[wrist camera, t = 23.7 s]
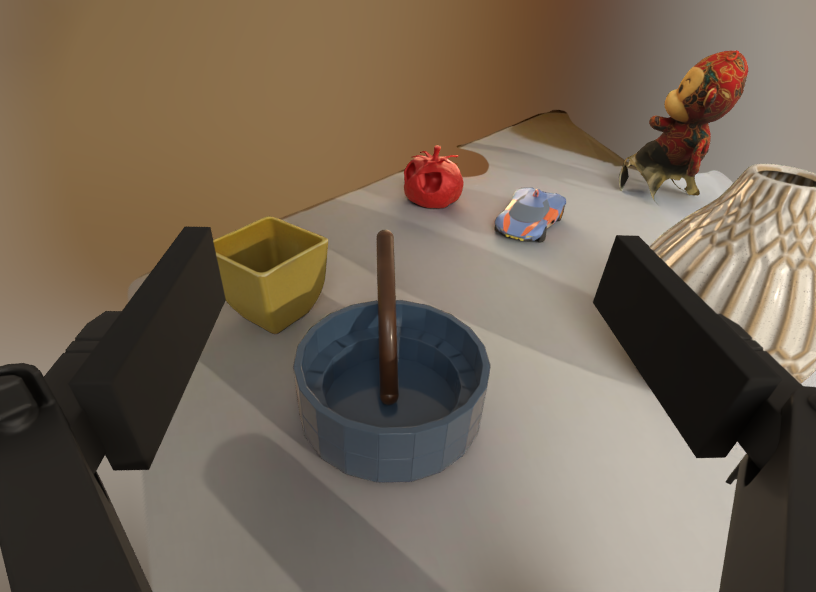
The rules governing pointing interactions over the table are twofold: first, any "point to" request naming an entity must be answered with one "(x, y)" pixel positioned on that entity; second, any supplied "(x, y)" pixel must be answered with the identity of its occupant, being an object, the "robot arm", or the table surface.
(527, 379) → the table surface
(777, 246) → the vase
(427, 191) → the pomegranate
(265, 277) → the flower pot
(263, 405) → the table surface
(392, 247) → the stick
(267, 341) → the table surface
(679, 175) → the stuffed monkey
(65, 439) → the robot arm
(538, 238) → the toy car
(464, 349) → the bowl
